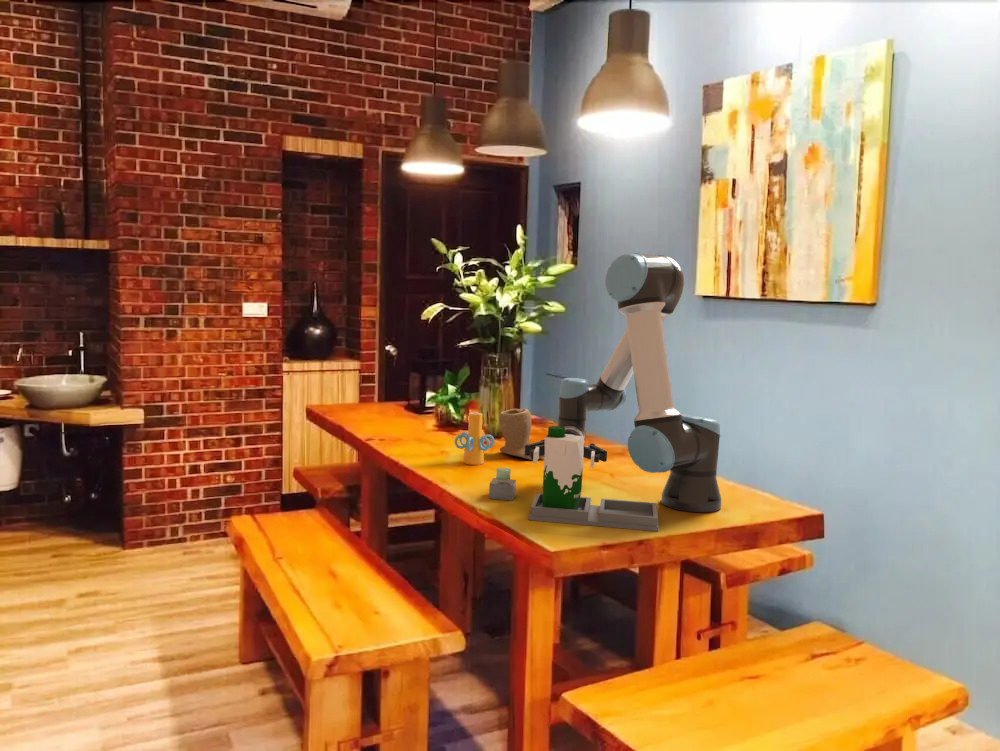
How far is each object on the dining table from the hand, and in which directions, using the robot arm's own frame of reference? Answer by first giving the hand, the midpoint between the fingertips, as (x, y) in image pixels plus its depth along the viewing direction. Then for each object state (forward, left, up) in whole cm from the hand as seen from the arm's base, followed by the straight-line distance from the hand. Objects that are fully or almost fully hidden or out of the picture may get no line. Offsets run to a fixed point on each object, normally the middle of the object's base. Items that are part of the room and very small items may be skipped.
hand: (563, 459), depth 209 cm
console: (+16, -13, -14) cm, 25 cm away
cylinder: (+30, -49, -14) cm, 59 cm away
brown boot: (+18, -63, -14) cm, 67 cm away
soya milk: (0, -2, -13) cm, 13 cm away
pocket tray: (-8, -2, -14) cm, 16 cm away
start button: (+16, -13, -9) cm, 23 cm away
